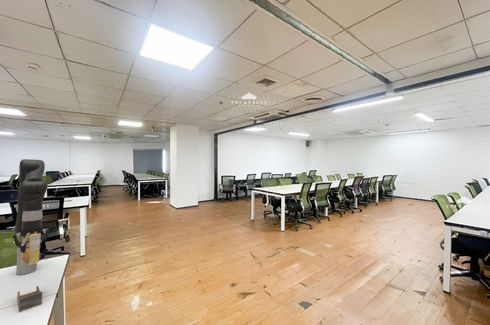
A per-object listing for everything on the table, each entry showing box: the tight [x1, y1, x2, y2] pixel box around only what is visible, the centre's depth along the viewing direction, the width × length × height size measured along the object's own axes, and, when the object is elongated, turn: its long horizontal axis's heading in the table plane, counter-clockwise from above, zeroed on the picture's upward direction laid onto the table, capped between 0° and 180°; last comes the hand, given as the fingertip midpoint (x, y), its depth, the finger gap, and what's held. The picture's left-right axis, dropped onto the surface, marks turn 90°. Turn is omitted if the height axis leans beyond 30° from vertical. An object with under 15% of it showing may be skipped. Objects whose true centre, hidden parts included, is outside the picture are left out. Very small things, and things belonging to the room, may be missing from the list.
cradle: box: [16, 285, 43, 313], centre depth 108 cm, size 15×8×6 cm, turn 50°
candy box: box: [22, 233, 42, 265], centre depth 110 cm, size 9×4×15 cm, turn 65°
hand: (30, 250), depth 110 cm, fingers closed on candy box, 5 cm apart
